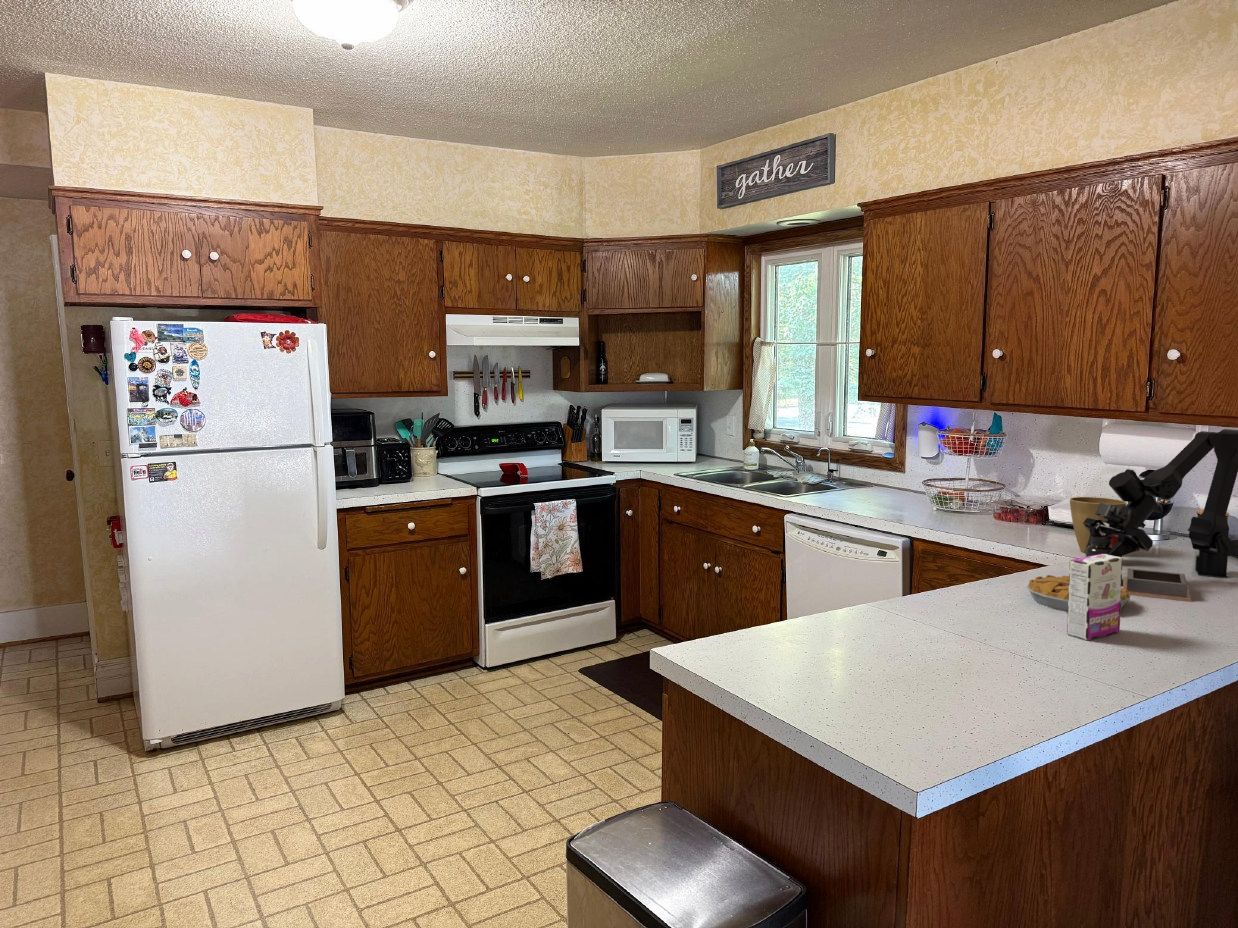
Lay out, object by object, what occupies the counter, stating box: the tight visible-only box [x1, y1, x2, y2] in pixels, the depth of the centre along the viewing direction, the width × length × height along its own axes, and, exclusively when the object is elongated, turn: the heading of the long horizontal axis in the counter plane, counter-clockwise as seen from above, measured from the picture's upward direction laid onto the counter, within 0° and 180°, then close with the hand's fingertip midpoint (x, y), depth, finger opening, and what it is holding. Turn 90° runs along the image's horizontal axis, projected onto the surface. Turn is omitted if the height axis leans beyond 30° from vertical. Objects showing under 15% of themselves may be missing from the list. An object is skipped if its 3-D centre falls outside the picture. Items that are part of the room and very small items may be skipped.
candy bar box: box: [1066, 554, 1124, 641], centre depth 179 cm, size 11×5×16 cm, turn 117°
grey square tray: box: [1122, 567, 1192, 602], centre depth 212 cm, size 14×14×4 cm
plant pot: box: [1069, 496, 1127, 553], centre depth 256 cm, size 15×15×16 cm
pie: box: [1026, 574, 1131, 612], centre depth 203 cm, size 22×22×5 cm
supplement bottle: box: [1084, 535, 1112, 557], centre depth 222 cm, size 7×7×12 cm
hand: (1095, 556), depth 221 cm, fingers closed on supplement bottle, 7 cm apart
